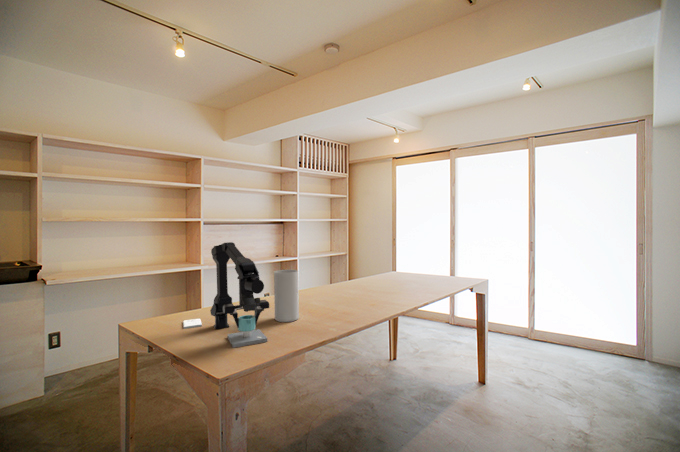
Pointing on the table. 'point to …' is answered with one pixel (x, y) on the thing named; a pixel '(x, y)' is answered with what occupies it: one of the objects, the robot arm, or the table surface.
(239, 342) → the flat gray panel
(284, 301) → the cylinder vase
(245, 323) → the mug with handle
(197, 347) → the table surface
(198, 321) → the external hard drive
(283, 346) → the table surface
